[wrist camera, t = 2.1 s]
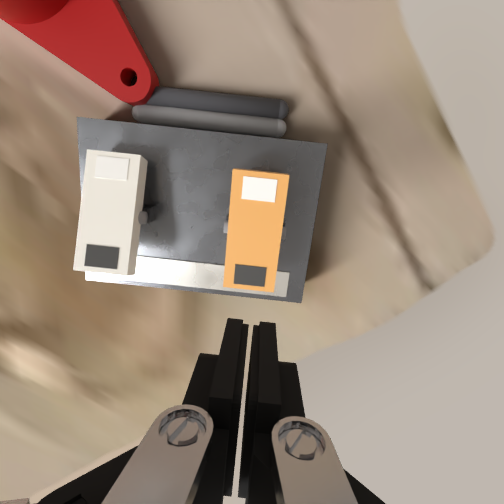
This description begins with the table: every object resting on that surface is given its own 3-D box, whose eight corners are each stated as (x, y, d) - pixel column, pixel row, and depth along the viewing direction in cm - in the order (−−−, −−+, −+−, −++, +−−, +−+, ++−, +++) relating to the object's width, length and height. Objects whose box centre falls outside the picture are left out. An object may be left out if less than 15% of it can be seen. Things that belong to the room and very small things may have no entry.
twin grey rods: (135, 85, 28) (128, 81, 26) (289, 102, 28) (290, 99, 26) (136, 123, 29) (128, 121, 27) (284, 139, 29) (285, 138, 27)
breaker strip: (101, 121, 29) (64, 114, 24) (318, 145, 29) (331, 143, 24) (106, 265, 33) (76, 286, 28) (296, 285, 33) (303, 311, 28)
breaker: (94, 156, 25) (81, 148, 23) (154, 163, 25) (145, 155, 23) (81, 268, 25) (67, 269, 23) (141, 274, 25) (132, 276, 23)
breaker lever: (229, 167, 24) (226, 168, 22) (292, 174, 24) (295, 175, 22) (220, 277, 27) (217, 286, 25) (277, 283, 27) (278, 293, 25)
